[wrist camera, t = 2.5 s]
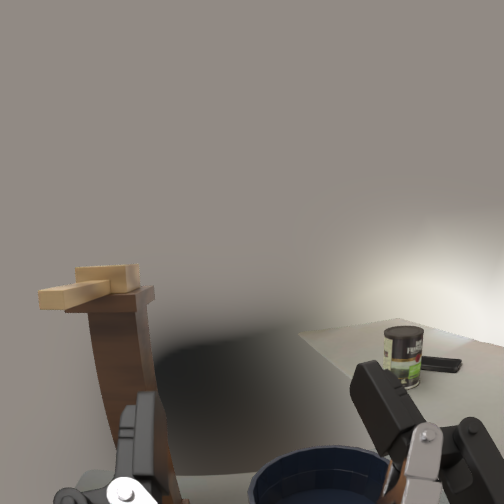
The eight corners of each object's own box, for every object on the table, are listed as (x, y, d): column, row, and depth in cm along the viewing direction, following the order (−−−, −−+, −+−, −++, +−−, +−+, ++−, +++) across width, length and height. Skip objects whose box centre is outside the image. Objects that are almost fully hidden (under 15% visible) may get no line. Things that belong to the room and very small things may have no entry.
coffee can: (426, 380, 65) (431, 328, 65) (402, 394, 60) (407, 338, 60) (398, 371, 74) (400, 323, 74) (373, 383, 70) (375, 331, 70)
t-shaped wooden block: (96, 289, 29) (94, 266, 29) (140, 287, 30) (139, 263, 30) (22, 309, 15) (18, 271, 15) (86, 310, 16) (82, 268, 16)
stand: (188, 543, 23) (135, 294, 24) (134, 539, 23) (62, 295, 23) (190, 504, 31) (153, 285, 32) (143, 502, 31) (94, 287, 31)
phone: (456, 369, 64) (409, 363, 75) (456, 372, 64) (409, 367, 75) (462, 359, 69) (418, 355, 80) (462, 362, 69) (417, 358, 80)
